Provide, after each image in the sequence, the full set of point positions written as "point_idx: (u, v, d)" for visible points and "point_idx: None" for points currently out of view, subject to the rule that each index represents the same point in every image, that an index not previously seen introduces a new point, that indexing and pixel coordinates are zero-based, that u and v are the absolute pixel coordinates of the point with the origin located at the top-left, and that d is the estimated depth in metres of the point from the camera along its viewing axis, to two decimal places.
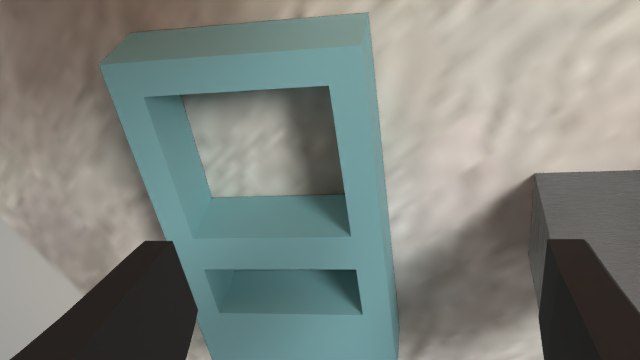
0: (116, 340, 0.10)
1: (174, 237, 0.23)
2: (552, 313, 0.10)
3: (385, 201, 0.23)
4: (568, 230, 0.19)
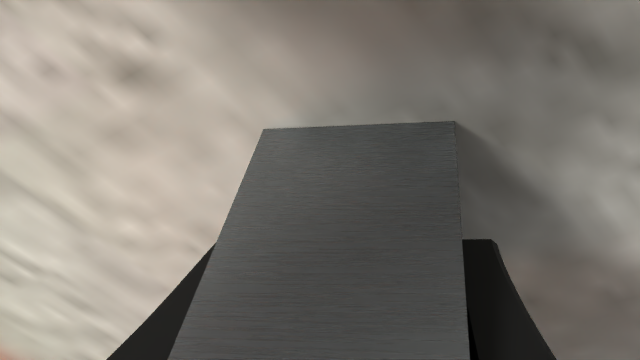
0: None
1: None
2: None
3: None
4: None
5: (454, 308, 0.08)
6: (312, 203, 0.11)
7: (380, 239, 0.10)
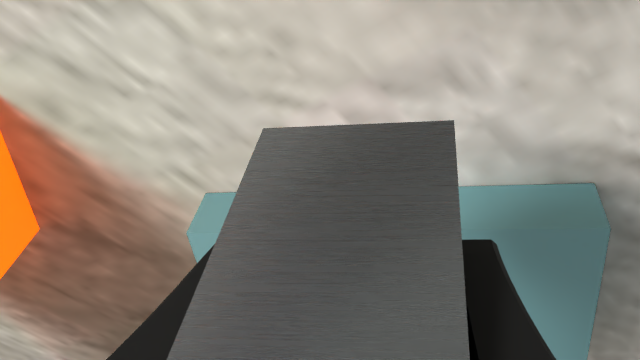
0: None
1: None
2: None
3: None
4: None
5: (454, 306, 0.08)
6: (311, 203, 0.11)
7: (380, 237, 0.10)
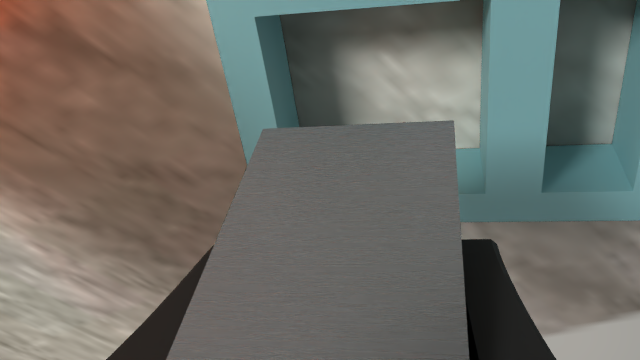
0: None
1: (482, 212, 0.18)
2: None
3: None
4: None
5: (453, 308, 0.08)
6: (311, 203, 0.10)
7: (380, 238, 0.10)
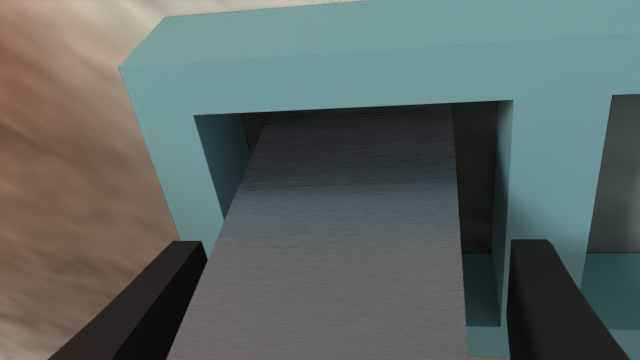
0: (150, 341, 0.10)
1: (496, 347, 0.14)
2: (514, 312, 0.10)
3: None
4: None
5: (449, 233, 0.09)
6: (323, 155, 0.12)
7: (384, 181, 0.11)
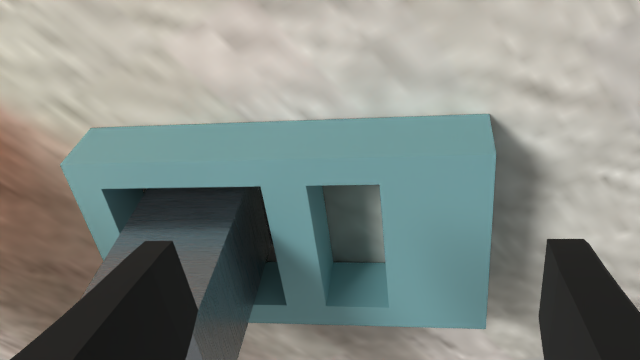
0: (116, 340, 0.10)
1: (287, 317, 0.25)
2: (552, 313, 0.10)
3: (267, 128, 0.22)
4: None
5: (214, 255, 0.20)
6: (170, 210, 0.22)
7: (196, 227, 0.21)
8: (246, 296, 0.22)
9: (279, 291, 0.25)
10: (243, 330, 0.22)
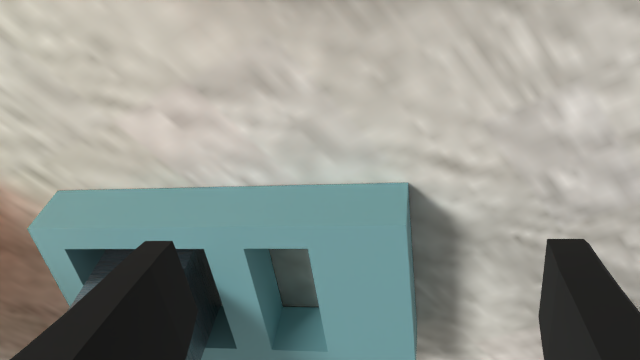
0: (116, 340, 0.10)
1: (239, 359, 0.27)
2: (552, 313, 0.10)
3: (212, 194, 0.24)
4: None
5: None
6: None
7: None
8: (195, 344, 0.25)
9: (231, 335, 0.27)
10: None
